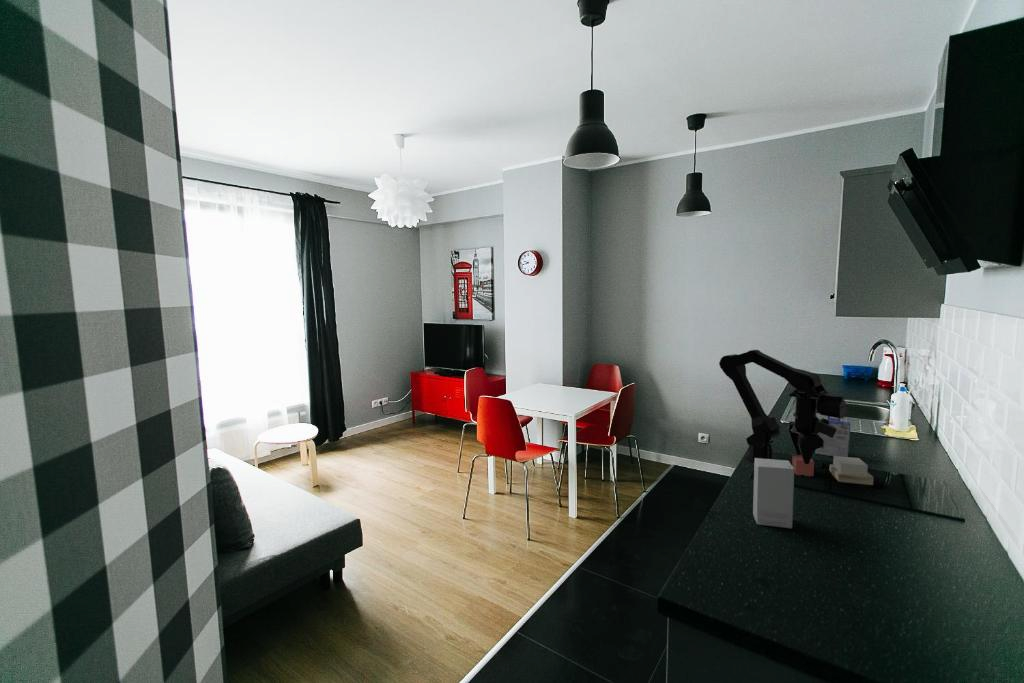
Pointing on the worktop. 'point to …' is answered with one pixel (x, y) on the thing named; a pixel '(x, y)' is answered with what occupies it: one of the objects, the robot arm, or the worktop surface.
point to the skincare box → (773, 492)
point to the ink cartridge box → (836, 439)
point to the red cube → (802, 466)
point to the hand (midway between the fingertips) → (802, 459)
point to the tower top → (850, 465)
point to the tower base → (851, 477)
